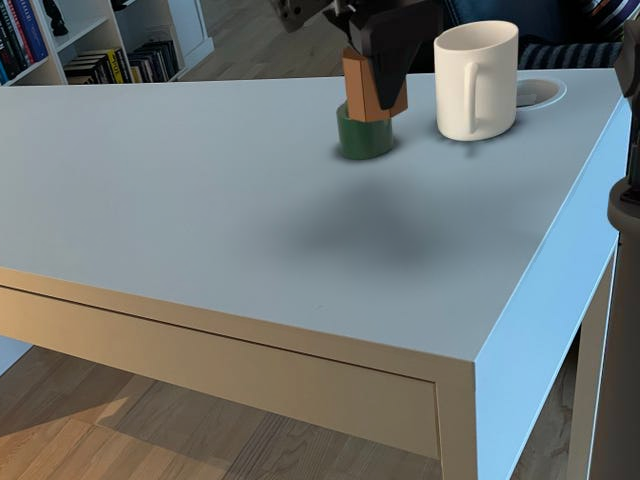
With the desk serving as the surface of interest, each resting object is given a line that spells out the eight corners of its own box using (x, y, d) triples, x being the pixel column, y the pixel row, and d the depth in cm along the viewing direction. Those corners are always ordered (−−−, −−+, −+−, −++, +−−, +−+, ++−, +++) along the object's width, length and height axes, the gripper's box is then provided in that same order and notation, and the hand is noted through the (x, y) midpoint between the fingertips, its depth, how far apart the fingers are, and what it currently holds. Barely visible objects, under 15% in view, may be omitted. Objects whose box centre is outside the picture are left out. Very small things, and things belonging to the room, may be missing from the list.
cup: (517, 105, 89) (520, 15, 82) (512, 155, 81) (514, 59, 74) (441, 112, 92) (438, 26, 86) (429, 160, 84) (425, 69, 78)
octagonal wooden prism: (419, 101, 69) (417, 39, 66) (378, 125, 68) (373, 63, 65) (377, 92, 73) (372, 33, 70) (337, 115, 72) (330, 55, 68)
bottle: (404, 142, 89) (400, 72, 84) (366, 164, 87) (359, 94, 82) (367, 131, 93) (361, 65, 88) (330, 152, 92) (321, 86, 87)
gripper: (244, -81, 69) (272, 87, 78) (283, -39, 54) (312, 162, 64) (368, -119, 68) (381, 57, 77) (442, -86, 53) (448, 126, 62)
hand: (377, 97), depth 70 cm, fingers closed on octagonal wooden prism, 5 cm apart
